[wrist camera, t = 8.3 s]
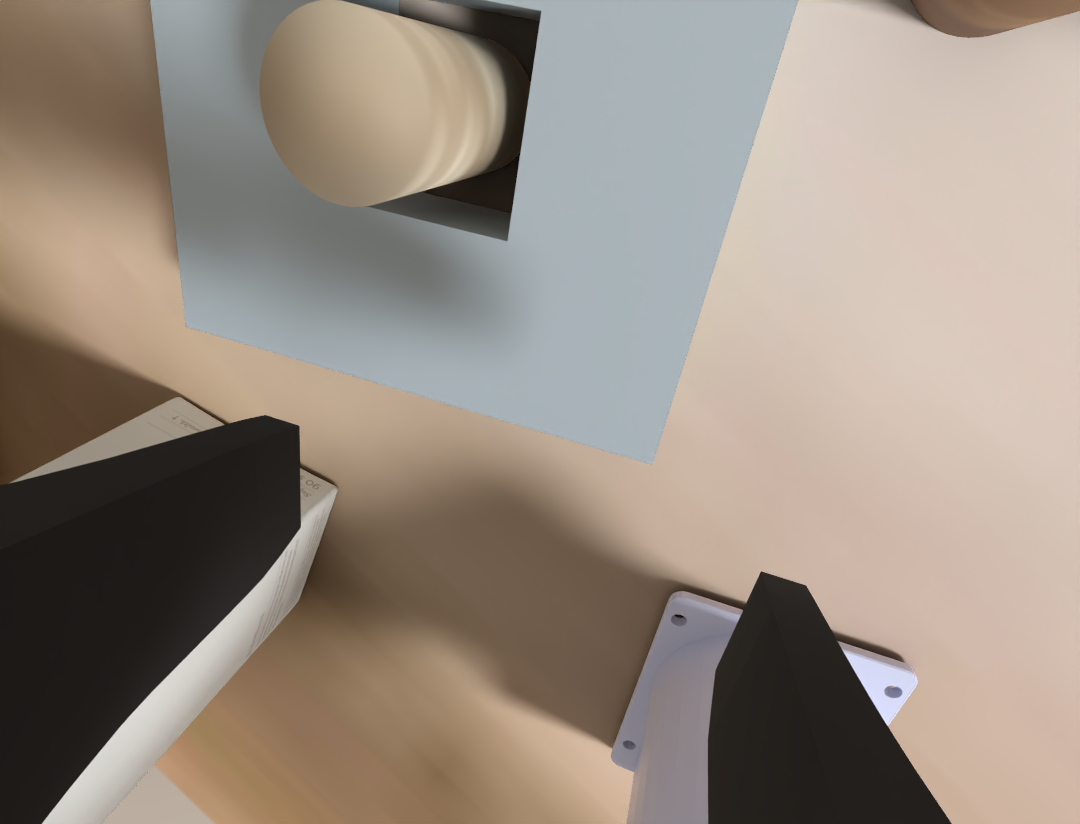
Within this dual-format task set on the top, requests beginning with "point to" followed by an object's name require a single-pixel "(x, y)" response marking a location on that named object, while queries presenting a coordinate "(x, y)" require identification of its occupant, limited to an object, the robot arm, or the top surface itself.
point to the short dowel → (989, 14)
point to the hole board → (485, 215)
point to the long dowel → (387, 103)
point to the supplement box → (216, 655)
